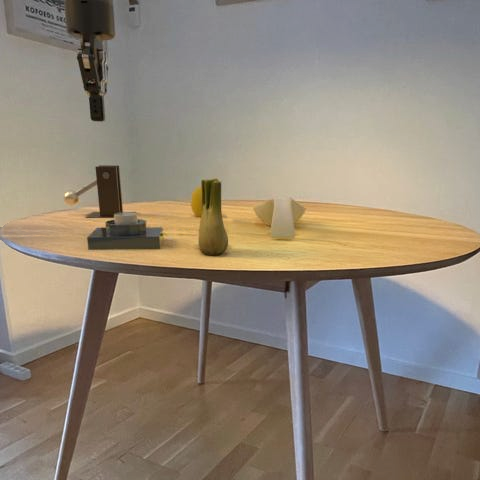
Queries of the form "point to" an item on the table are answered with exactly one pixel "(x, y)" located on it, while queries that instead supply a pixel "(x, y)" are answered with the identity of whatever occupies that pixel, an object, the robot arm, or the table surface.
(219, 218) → the fennel bulb
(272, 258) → the table surface
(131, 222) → the flush button
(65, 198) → the flush lever
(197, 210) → the lemon
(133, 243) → the button block
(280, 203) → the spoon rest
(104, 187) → the lever bracket
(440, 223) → the table surface
